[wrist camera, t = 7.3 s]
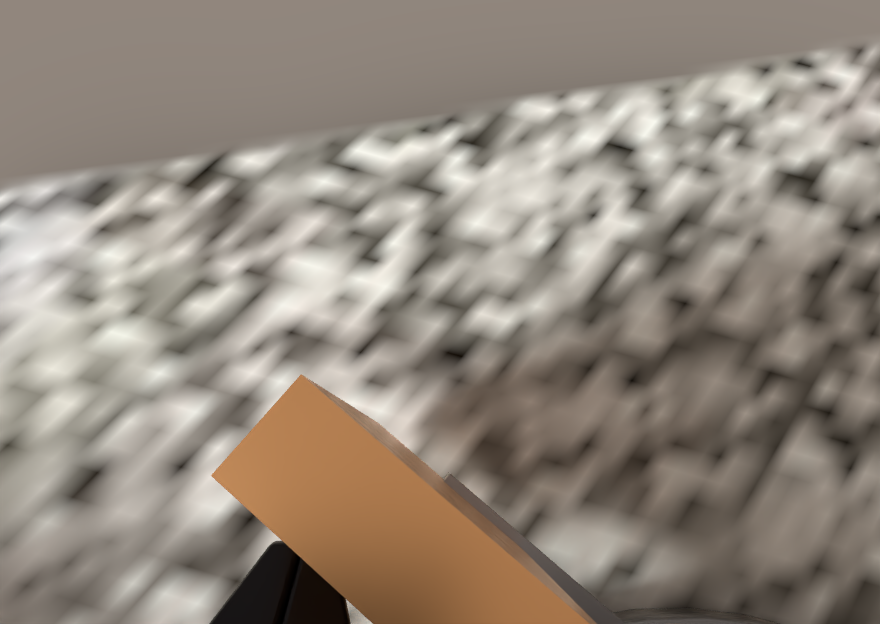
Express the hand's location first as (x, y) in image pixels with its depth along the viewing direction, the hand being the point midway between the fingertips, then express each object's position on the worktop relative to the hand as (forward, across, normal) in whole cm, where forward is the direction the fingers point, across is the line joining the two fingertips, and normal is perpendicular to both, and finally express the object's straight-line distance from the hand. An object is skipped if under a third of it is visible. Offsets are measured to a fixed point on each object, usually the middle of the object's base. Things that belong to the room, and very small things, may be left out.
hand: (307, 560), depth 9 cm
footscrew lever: (+3, -4, +6) cm, 8 cm away
